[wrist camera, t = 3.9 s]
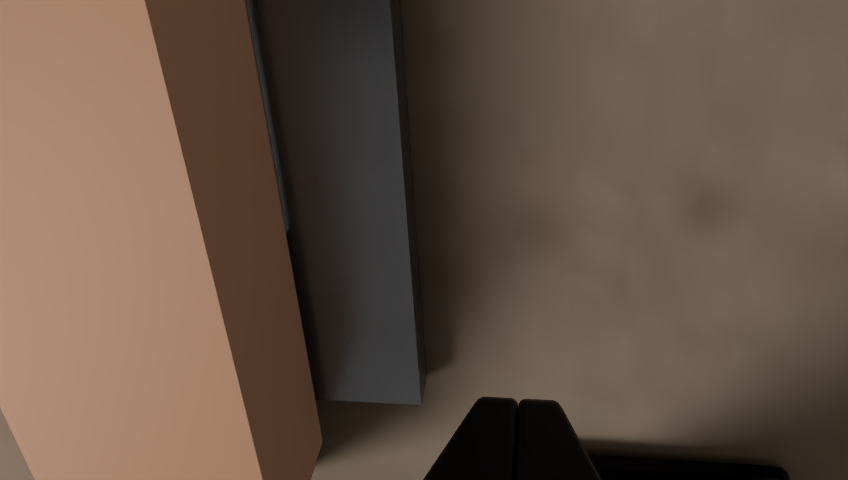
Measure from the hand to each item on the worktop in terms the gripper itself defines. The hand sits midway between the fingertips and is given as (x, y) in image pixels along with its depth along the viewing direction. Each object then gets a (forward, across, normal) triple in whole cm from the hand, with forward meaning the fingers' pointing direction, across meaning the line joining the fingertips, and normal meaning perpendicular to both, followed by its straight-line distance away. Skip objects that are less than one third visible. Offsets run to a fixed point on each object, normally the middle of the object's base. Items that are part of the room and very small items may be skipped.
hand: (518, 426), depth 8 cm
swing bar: (+8, +7, +3) cm, 12 cm away
